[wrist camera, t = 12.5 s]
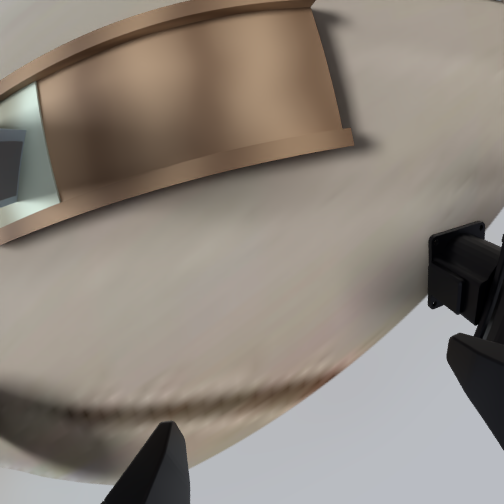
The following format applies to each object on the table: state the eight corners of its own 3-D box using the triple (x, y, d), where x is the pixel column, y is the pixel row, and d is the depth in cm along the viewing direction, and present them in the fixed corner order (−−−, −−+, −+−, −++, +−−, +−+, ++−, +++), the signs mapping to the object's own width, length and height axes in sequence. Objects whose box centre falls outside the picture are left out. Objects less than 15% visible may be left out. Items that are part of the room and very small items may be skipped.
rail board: (298, 6, 16) (312, -16, 13) (333, 145, 19) (355, 145, 16) (-36, 127, 15) (-63, 127, 12) (-9, 246, 18) (-34, 260, 15)
